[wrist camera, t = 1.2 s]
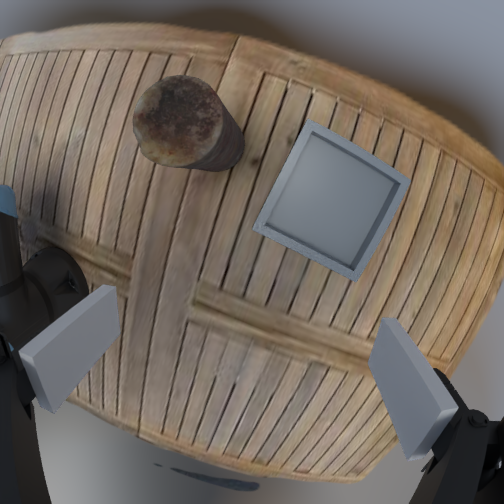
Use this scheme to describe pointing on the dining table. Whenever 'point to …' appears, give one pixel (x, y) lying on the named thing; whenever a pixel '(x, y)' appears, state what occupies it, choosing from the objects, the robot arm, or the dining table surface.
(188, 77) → the brown rough cylinder
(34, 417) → the robot arm
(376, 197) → the tray
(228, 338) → the dining table surface
